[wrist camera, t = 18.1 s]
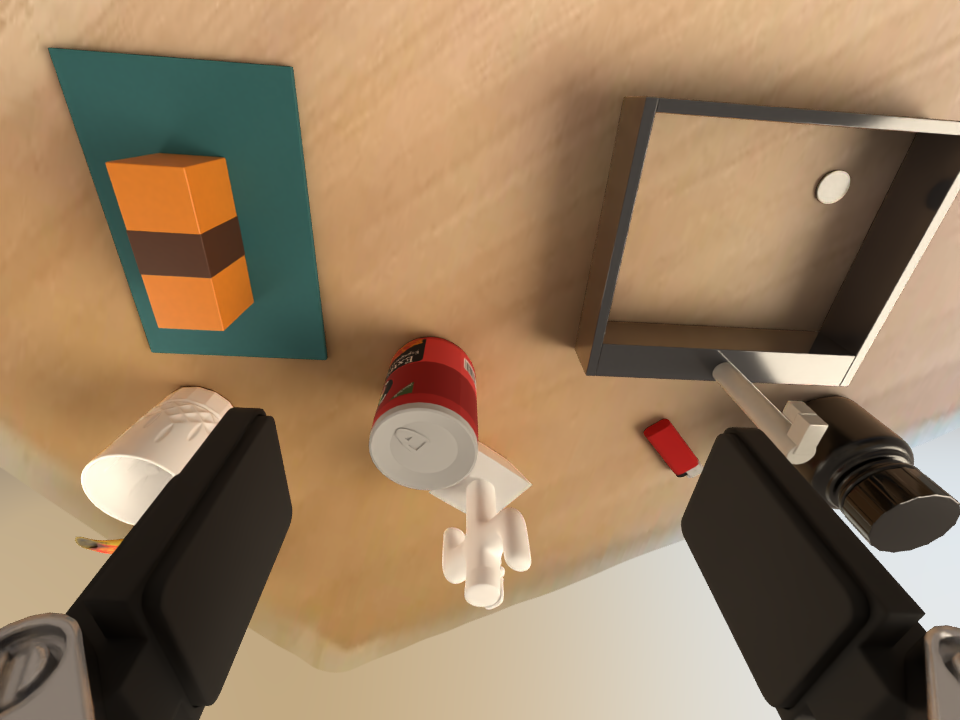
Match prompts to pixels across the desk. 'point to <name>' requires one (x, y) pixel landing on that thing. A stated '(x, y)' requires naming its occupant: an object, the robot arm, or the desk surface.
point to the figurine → (485, 528)
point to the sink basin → (770, 352)
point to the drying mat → (252, 172)
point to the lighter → (673, 449)
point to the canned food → (427, 416)
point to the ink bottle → (875, 479)
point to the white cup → (151, 452)
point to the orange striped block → (184, 238)
